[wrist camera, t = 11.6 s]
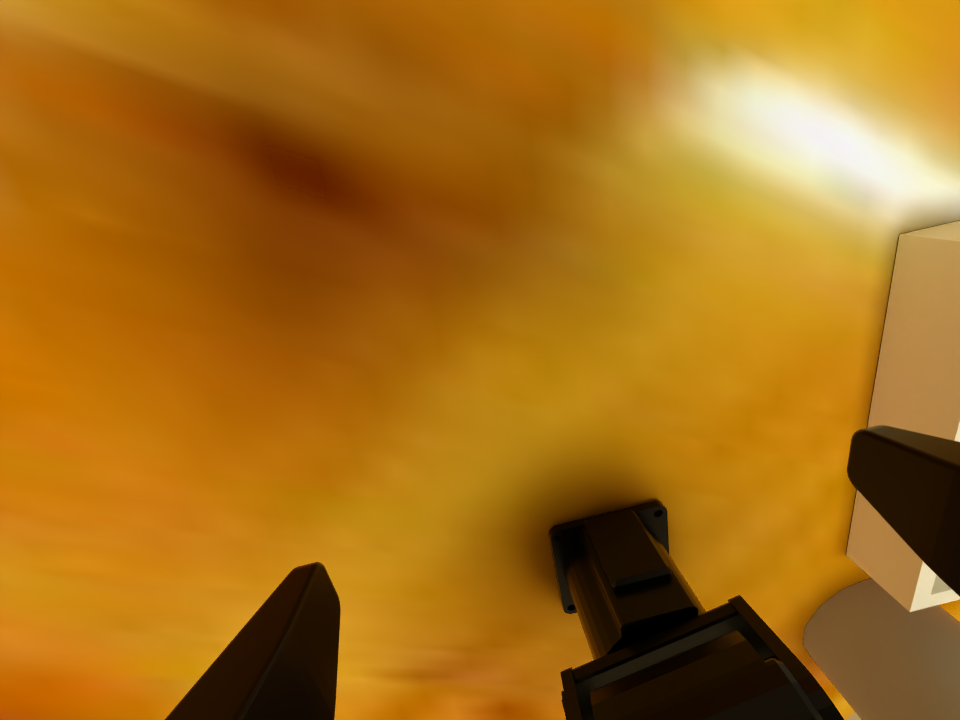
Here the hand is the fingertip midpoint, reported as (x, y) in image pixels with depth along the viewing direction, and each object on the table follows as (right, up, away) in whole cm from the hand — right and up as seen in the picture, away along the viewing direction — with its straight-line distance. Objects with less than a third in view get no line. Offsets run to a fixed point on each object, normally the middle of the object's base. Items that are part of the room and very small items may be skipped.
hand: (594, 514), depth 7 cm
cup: (+24, -15, +24) cm, 37 cm away
